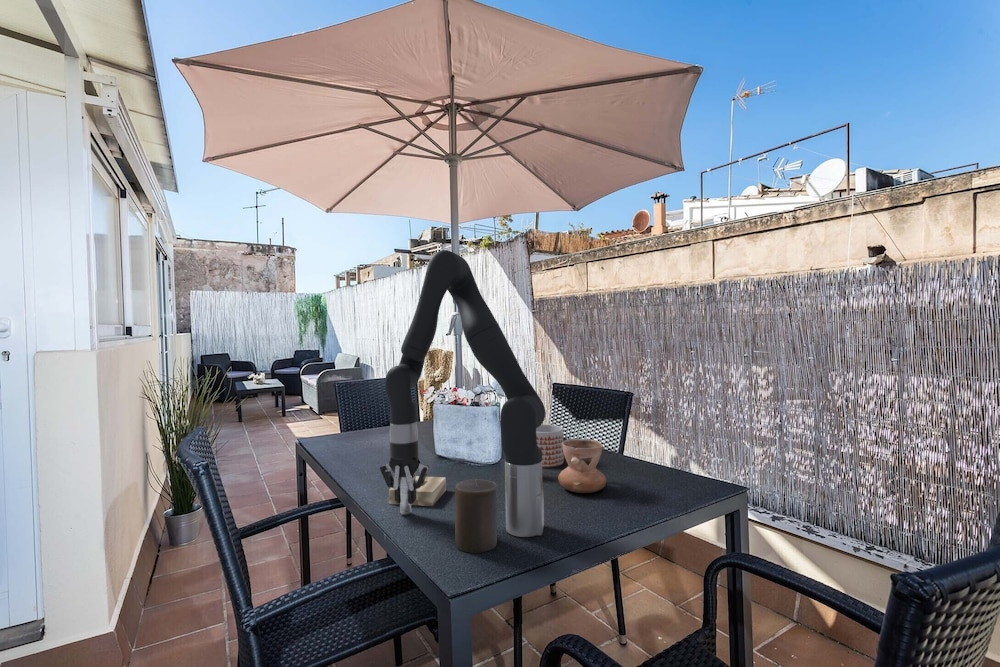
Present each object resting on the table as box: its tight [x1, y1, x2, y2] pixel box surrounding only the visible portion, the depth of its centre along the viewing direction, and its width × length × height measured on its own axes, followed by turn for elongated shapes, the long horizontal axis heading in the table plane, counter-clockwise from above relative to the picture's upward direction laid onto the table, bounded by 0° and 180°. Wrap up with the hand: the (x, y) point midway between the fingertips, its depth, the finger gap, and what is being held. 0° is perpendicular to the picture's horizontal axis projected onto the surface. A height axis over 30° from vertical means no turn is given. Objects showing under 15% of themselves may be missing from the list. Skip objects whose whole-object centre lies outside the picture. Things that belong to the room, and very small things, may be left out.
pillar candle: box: [454, 478, 498, 554], centre depth 111 cm, size 10×10×15 cm
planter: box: [536, 423, 565, 469], centre depth 175 cm, size 14×14×13 cm
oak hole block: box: [388, 475, 447, 507], centre depth 142 cm, size 13×13×4 cm
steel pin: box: [399, 476, 412, 515], centre depth 129 cm, size 3×3×10 cm
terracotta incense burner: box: [557, 438, 607, 494], centre depth 147 cm, size 18×14×14 cm
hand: (405, 502), depth 129 cm, fingers closed on steel pin, 3 cm apart
